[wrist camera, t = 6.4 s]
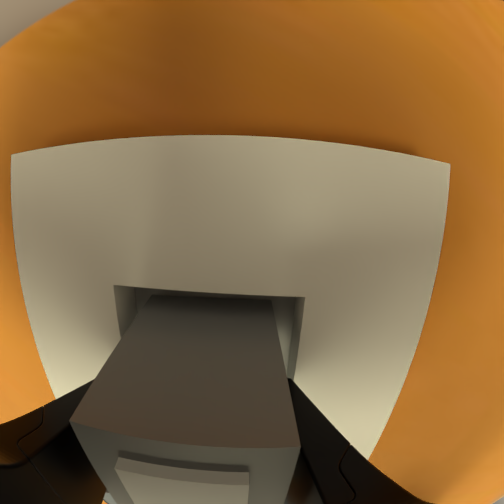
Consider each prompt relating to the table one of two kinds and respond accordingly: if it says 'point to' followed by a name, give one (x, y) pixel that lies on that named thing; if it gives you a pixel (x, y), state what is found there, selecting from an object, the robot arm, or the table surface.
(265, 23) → the table surface
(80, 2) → the table surface
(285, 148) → the outlet plate
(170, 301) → the block
